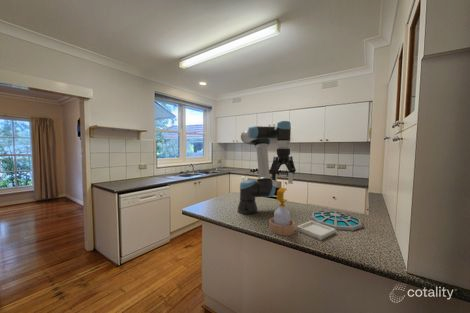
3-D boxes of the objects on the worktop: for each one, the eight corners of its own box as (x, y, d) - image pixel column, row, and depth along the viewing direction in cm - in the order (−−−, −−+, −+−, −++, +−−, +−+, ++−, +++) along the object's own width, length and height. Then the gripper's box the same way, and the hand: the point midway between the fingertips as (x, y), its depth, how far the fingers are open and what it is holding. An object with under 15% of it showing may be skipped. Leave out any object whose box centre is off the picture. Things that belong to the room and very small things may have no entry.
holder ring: (264, 228, 114) (264, 220, 114) (280, 223, 122) (280, 215, 122) (283, 237, 103) (283, 228, 102) (299, 231, 111) (299, 222, 111)
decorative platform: (303, 221, 127) (303, 213, 127) (320, 210, 148) (320, 204, 148) (356, 236, 106) (356, 227, 105) (367, 222, 126) (367, 214, 126)
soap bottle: (292, 229, 113) (293, 188, 111) (284, 234, 106) (285, 191, 105) (279, 225, 119) (280, 186, 118) (270, 229, 113) (271, 188, 111)
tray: (296, 230, 112) (296, 226, 112) (311, 224, 120) (311, 220, 120) (320, 240, 100) (320, 235, 99) (335, 233, 108) (335, 229, 108)
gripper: (273, 148, 100) (272, 188, 101) (302, 148, 114) (301, 183, 115) (263, 148, 106) (262, 185, 107) (292, 148, 120) (291, 181, 121)
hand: (282, 184), depth 111 cm, fingers open, 13 cm apart
